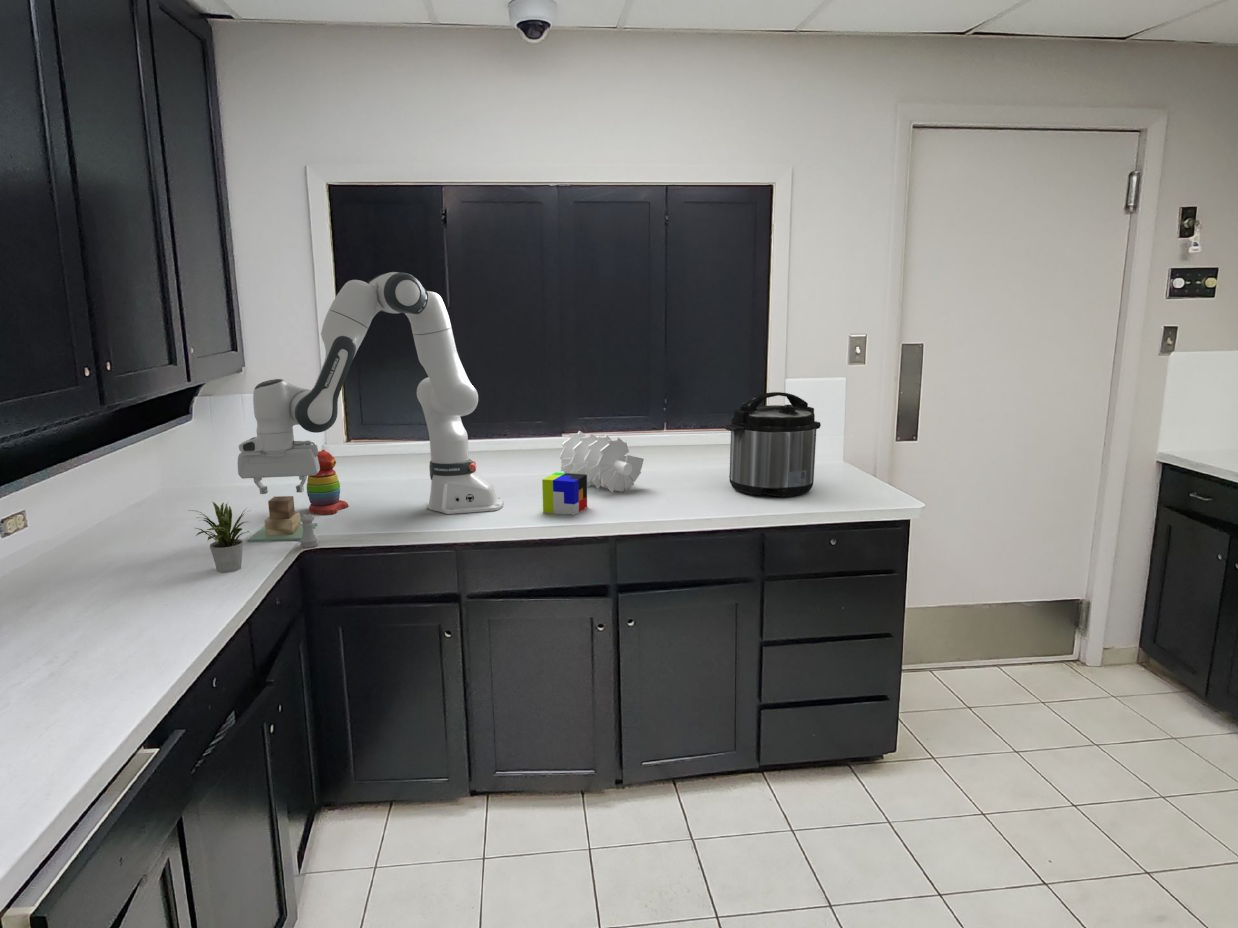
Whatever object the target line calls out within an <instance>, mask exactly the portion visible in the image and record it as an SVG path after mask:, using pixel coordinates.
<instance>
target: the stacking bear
mask: <svg viewBox="0 0 1238 928" xmlns="http://www.w3.org/2000/svg"><path fill="white" fill-rule="evenodd" d="M317 457H318V461H319V466H320V470H319V472H318V473H317V474H316V475H314V476H307V479H306V494H307V497H308V500H309V503H310V505H309V507H308V511H309V512H310V513H311V514H316V515H324V516H325V515H326V516H327V515H334V514H337V513H338V511H340V510H343V509H347V508H348V507H349V503H348V502H347V501H346V500H340V494H341V484H340V483H341V482H340V481H339V478H338V474H337V473H336V470H335V469H334V467H335V466H336V464H337V460H336V458H335V457H334V456H333V455H332V454H331V453H330V452H328V451H326V449H322V450H318V455H317Z"/></svg>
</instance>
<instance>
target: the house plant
mask: <svg viewBox="0 0 1238 928" xmlns="http://www.w3.org/2000/svg"><path fill="white" fill-rule="evenodd" d="M211 503H212V504H213V507H214V511H215V515H216V518H217V521H218V524H216V523H215V522H213V520H211V519H210V518H209V517H208V516H207V515H206V514H204V513H203V512H201V511H198V510H196V512H198V513H199V514H200V515H201V517H197V519H198V518H200V519H202V516H204V517H203V519H202V521H204V522H206V523H207V524H208V525H209V526H210V528H207V529H206V530H203V529H202V528H198V527H195V529H197V530H200V531H199V532H197V533H196V535H195V537H197V536H198V535H200V534H203V533H204V535H206V536H208V537H207V542H208V541H210V540H211V539H214V540H215V541H214V542H212V543H210V544H209V548H210V549H209V550H210V551H211V555H212V558H213V561H214V565H215V569H216V570H217V572H218V573H231V572H236V571H238V570H241V569H242V564H243V563H242V562H243V549H244V540H242V539H239V538H240V537H241V536H242V535H243V534H247V533H249V534H251V532H250V531H244V532H241V531H242V530H243V528H242V527H240V526H242V525H243V524H245V523H246V521H241V519H242V518H243V516H244V515H245V514H246V512H245V511H246V510H247V508H245V509H244V510H243V511H242V513H241V515H240V516H239V517H238V518H237V520H236V522H235V523H234V525H233V527H232V524H233V522H232V520H233V510H232V508H231V506H230V505H228V504H229V501H227V503H225V502H222V503H221V504H220V507H219V505H218V504H217V503H216V502H215V501H211ZM224 505H225V507H224ZM187 511H189V512H190V511H191V512H195V510H193V509H189V510H187ZM251 511H252V510H249V512H251ZM200 519H199V520H198V522H199V521H201V520H200ZM240 521H241V522H240ZM248 523H251V522H250V521H248ZM211 531H214V532H215V533H216V534H217V535H216V534H215V533H214V532H211ZM240 532H241V533H240Z"/></svg>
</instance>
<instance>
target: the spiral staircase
mask: <svg viewBox="0 0 1238 928" xmlns="http://www.w3.org/2000/svg"><path fill="white" fill-rule="evenodd" d="M561 445H562V450H561V452H560V454H559V457H558V458H559V459H560V460H561V462H560V463H561V464H560V465H561V466H560V472H563V473H572V474H586V475H587V488H589V487H590V486H595V487H596V489H600V487H602V488H604V489H608V490H609V491H610V492H611V493H614V491H618V492H624V491H625V490H627V489H628V488H630V487H632V486H634V485H635V482H636V481H637V479H639V476H640V475H641V473H642V472H641V471H642V467H643V464H644V460H645V459H644V458H642V457H638V456H633V455H629V454H628V453H629V452H630V450H629V447H628V444H627V441H626V440H625V441H624V440H622V439H621V438H620V437H616V439H611V438H610V436H608V434H605V435H604V437H603V436H602V437H601V436H599V435H594V434H592V433H589V434H588V433H586V434H585V433H584V432H582V431H581V430H578V431H577V433H569V438H568V439H566V440H565V441H564V442H563V443H561Z"/></svg>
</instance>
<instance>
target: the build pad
mask: <svg viewBox="0 0 1238 928" xmlns="http://www.w3.org/2000/svg"><path fill="white" fill-rule="evenodd" d="M312 523H313V522H312ZM302 524H303V523H301V527H300V528H299V529H298V530H297V531H296V532H295V533H294V534H293V535H266V532H265V524H264V525H263V526H262V527H261V528H260V529H258V530H257V531H256V532H255V533H254V534H252V535H251V536H250V537H249V538H247V542H248V543H249V542H250V543H253V542H283V541H284V542H286V541H288V542H291V541H300V540H301V538H302V535H303V526H302ZM318 526H319V525H318V523H317V522H315V523H313V531H315V530H314V529H316V528H317V527H318Z"/></svg>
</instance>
